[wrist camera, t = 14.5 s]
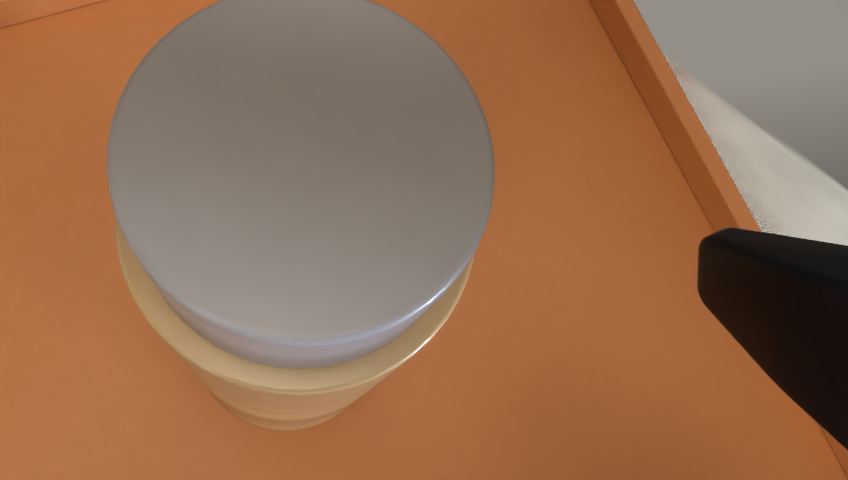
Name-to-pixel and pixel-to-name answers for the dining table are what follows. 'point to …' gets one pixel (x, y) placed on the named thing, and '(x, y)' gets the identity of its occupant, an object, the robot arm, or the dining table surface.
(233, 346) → the disc
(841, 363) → the robot arm
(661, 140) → the tray
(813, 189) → the dining table surface
